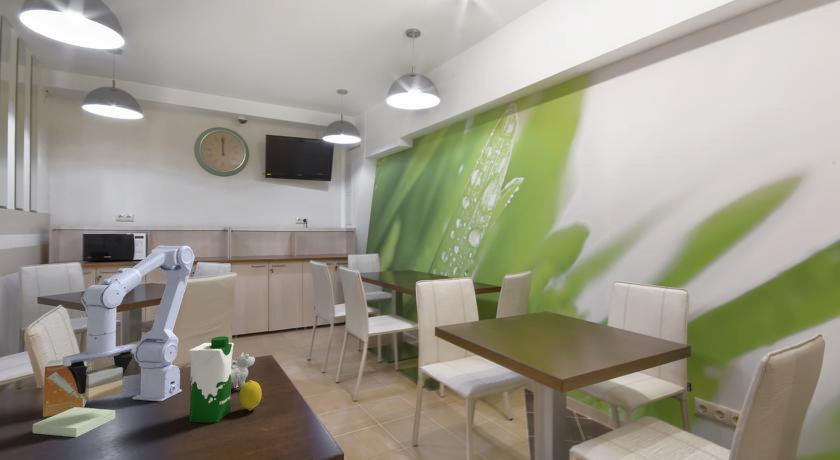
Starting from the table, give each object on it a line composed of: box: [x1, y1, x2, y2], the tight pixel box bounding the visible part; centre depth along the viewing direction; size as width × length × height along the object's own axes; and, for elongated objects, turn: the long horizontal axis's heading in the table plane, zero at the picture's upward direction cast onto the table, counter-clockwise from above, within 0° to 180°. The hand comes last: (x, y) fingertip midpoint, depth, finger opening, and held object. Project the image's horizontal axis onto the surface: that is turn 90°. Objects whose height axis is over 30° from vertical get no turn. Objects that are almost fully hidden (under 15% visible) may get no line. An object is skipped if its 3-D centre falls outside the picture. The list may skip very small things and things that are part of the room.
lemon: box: [238, 379, 263, 411], centre depth 108 cm, size 6×6×8 cm
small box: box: [42, 358, 88, 418], centre depth 108 cm, size 8×6×13 cm
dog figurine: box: [231, 352, 256, 389], centre depth 123 cm, size 5×13×11 cm, turn 148°
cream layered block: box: [81, 364, 124, 402], centre depth 101 cm, size 4×7×6 cm, turn 150°
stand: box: [32, 407, 116, 438], centre depth 99 cm, size 12×10×2 cm
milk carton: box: [188, 336, 234, 423], centre depth 105 cm, size 9×9×20 cm
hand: (100, 387), depth 101 cm, fingers closed on cream layered block, 7 cm apart
